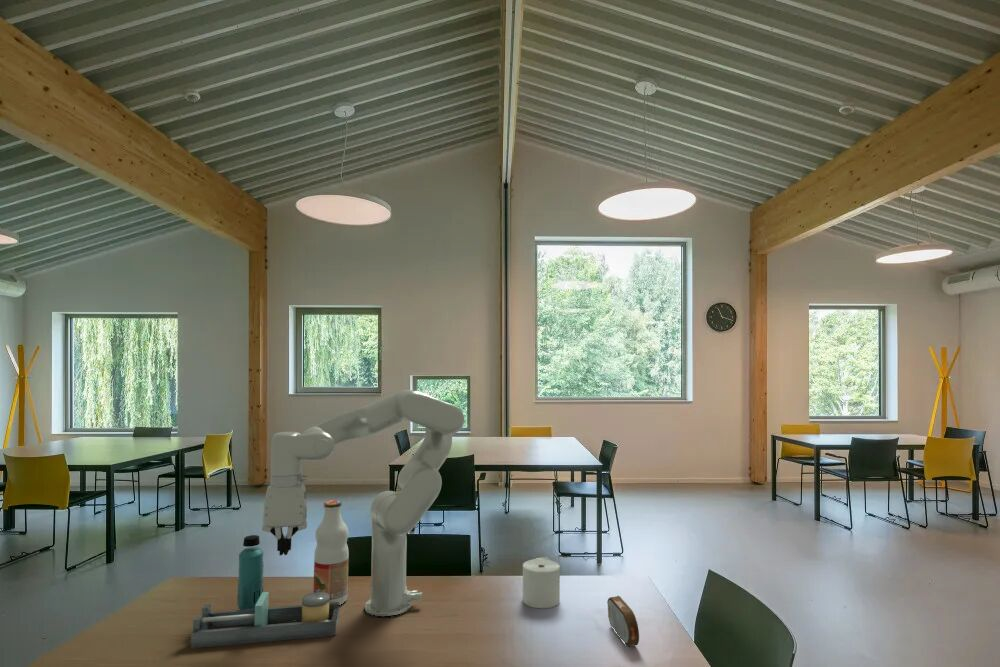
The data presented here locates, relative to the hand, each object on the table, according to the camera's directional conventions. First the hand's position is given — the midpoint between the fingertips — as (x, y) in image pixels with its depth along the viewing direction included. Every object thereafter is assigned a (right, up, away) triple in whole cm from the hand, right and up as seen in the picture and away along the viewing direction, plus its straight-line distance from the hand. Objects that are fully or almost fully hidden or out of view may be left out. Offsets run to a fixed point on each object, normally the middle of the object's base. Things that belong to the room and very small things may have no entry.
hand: (284, 553), depth 143 cm
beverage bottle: (-13, -20, +10) cm, 26 cm away
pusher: (-12, -19, -3) cm, 22 cm away
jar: (+8, -19, +1) cm, 21 cm away
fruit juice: (+7, -20, +16) cm, 27 cm away
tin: (+86, -20, -3) cm, 88 cm away
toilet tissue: (+67, -21, +18) cm, 72 cm away
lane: (-4, -19, -2) cm, 19 cm away
